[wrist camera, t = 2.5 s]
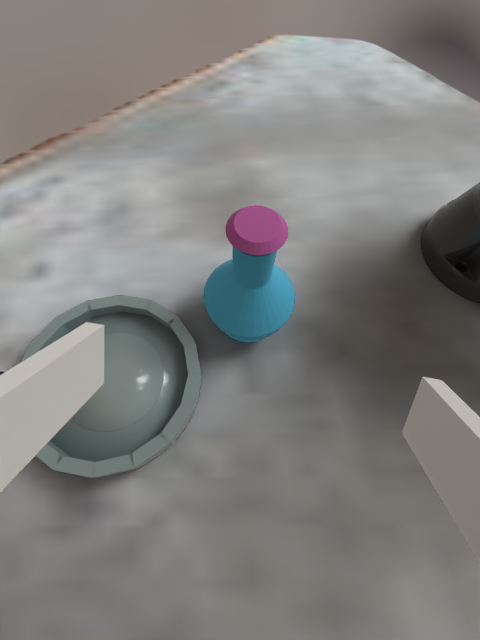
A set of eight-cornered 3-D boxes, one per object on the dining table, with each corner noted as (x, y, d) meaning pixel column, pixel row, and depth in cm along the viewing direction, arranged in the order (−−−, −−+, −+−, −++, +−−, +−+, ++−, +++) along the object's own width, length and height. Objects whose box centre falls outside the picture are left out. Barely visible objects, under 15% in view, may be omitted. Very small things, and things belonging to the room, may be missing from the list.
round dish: (67, 294, 37) (58, 284, 35) (216, 320, 37) (215, 310, 35) (-7, 456, 30) (-25, 454, 28) (177, 492, 29) (173, 493, 27)
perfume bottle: (190, 328, 36) (168, 241, 23) (232, 268, 40) (233, 162, 26) (264, 368, 34) (287, 300, 21) (300, 302, 38) (340, 206, 24)
